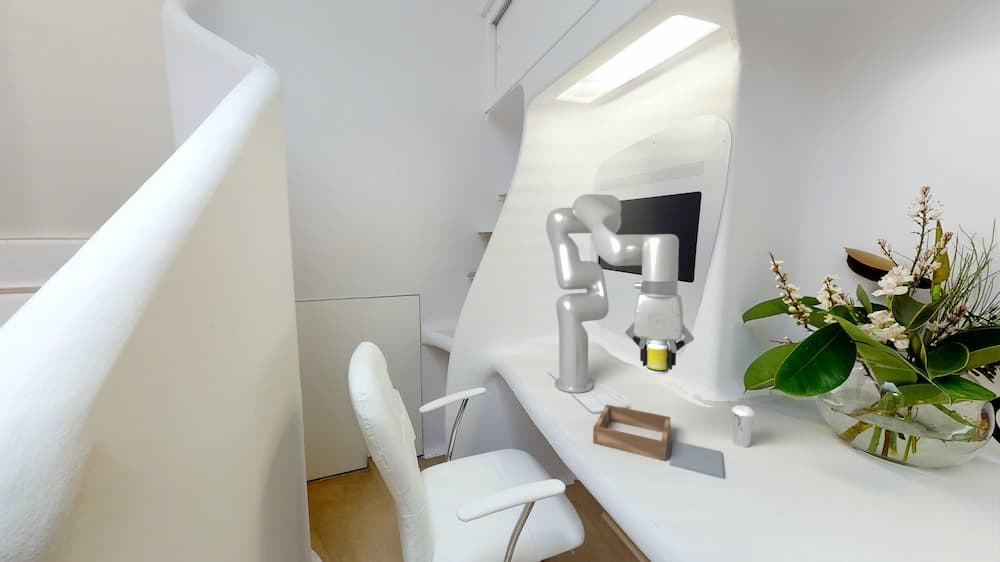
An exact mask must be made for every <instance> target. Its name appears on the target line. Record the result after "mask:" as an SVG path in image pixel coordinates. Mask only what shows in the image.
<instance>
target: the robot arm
mask: <svg viewBox="0 0 1000 562" xmlns="http://www.w3.org/2000/svg"><path fill="white" fill-rule="evenodd" d="M621 213H622V204H621V201H620V200H619V199H618V198H617V197H616V196H615V195H613V194H612V195H611V194H599V193H597V194H595V193H592V194H590V193H587V194H583V195H580V196H578V197H577V198H576V199H575V200H574V201H573V203H572V207H560V208H556V209H553V210H551V211H550V212H549V213H548V215H547V218H546V222H545V223H546V224H545V226H546V228H545V229H546V235H547V238H548V241H549V243H550V247H551V249H552V253H553V261H554V267H555V268H554V269H555V276H556V280H557V284H558V286H559V288H560V289H562V290H569V291H571V290H573V291H575V290H586V292H575V293H566V294H563V295H561V296H559V298H558V299H557V301H556V305H555V306H556V307H555V309H556V315H557V321H558V337H559V338H558V341H559V346H558V347H559V348H558V349H559V353H558V354H559V355H558V356H559V357H558V358H559V359H558V360H559V366H558V367H559V369H558V371H559V373H558V374H559V375H558V377H557V378H556V379H555V380H554V386H555V387H556V388H557V389H558V390H560V391H562V392H565V393H572V394H573V393H574V394H580V393H581V394H582V393H586V392H589V391H591V390H592V389H593V384H594V383H593V382H592V380H590V379H589V334H588V331H587V329H586V328H585V327H584V326H583V322H590V321H592V322H593V321H600V320H603V319H605V318H606V317H607V316H608V314H609V309H610V308H609V306H610V305H609V297H608V292H607V285H606V279H605V274H604V270H603V268H602V266H601V264H599V263H598V262H596V261H593V260H581V258H580V257H581V256H580V253H579V252H580V251H579V247H578V245H577V244H576V242H575V241H574V240H573V238H571V236H570V235H569V234H591V235H590V239H591V240H590V241H591V245H592V246H591V247H592V248H593V251H594V252H595V253H596V254H597V255H598V256H599V257H600V258H601V259H602V260H603V261H604V262H606V263H607V264H609V265H611V266H616V267H621V266H624V267H626V266H641V281H640V282H635V285H634V288H635V289H638V290H640V292H641V293H638V294H637V296H636V302H635V307H634V308H635V309H634V319H633V321H634V322H633V323H632V324H631V325H630V326H629V327H628V328H627V330H626V331H624V332H625V335H626V336H627V337H629V338H630V339H631V340H632V341H633V342H634V343H635V344H636V345H637V346H638V348H639V349H640V350H639V354H640V357H639V361H640V362H642V366H643V367H647V344H648V340H649V338H650V339H660V340H668V344H669V345H668V346H669V353H668V369H669V370H673V366H676V363H677V352H678V351H679V350H681V349H682V348H683V347H685V346H686V345H687V344H690V343H692V342H694V339H695V338H694V335H693V334H692V332H690V331H689V329H688V328H687V326H685V324H684V310H683V309H684V308H683V300H682V296H681V295H680V294H678V289H679V287H678V286H679V284H678V283H679V280H678V279H679V253H680V252H679V250H680V249H679V248H680V247H679V246H680V240H679V238H678V236H677V235H676V234H672V233H671V234H670V233H665V234H664V233H663V234H662V233H658V234H636V233H634V234H617V233H618V231H619V230H620V228H621V225H622V217H621ZM683 336H684V337H683ZM682 337H683V338H682Z"/></svg>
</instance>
